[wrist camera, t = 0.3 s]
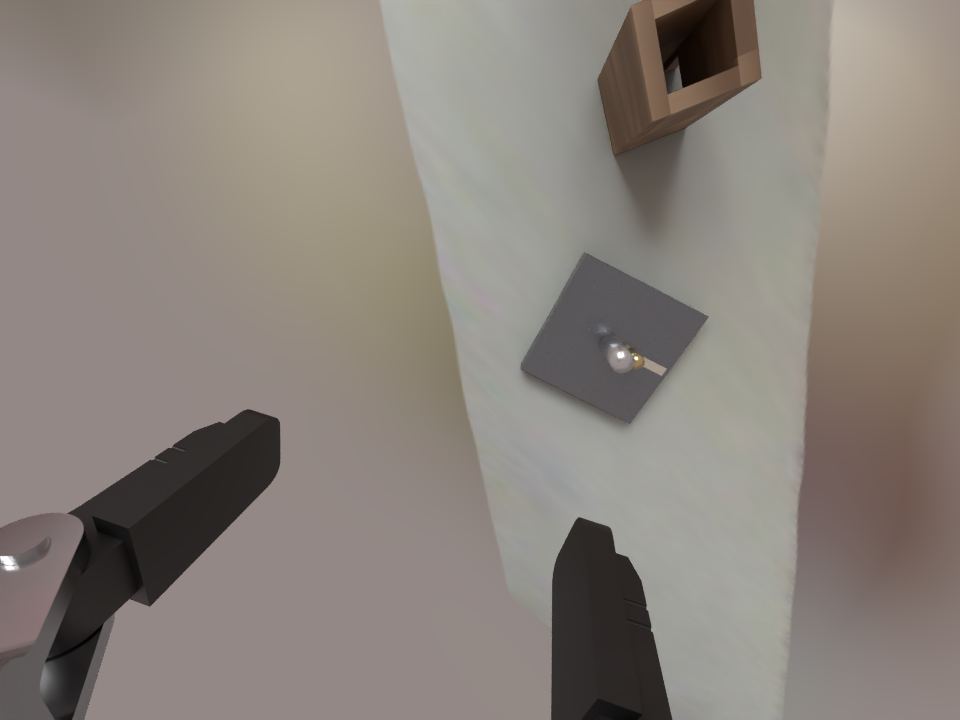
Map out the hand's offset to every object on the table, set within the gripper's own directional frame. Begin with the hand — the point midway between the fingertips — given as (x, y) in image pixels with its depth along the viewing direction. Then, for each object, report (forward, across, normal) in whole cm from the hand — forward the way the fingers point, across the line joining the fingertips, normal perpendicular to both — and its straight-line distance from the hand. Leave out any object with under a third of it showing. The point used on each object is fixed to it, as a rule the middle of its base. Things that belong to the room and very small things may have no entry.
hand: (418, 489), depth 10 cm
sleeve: (+29, -6, -15) cm, 33 cm away
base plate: (+28, -10, +4) cm, 30 cm away
